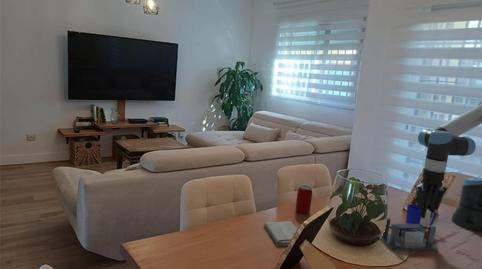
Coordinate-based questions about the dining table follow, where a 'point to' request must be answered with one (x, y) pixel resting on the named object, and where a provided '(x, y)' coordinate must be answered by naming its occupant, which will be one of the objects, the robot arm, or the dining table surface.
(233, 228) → the dining table surface
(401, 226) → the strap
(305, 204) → the beverage can
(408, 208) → the mug
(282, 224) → the washcloth
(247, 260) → the dining table surface
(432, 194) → the robot arm
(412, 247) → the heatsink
